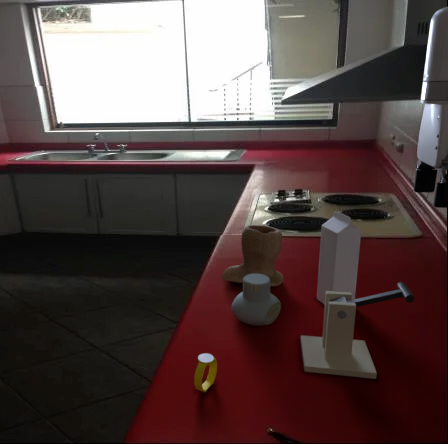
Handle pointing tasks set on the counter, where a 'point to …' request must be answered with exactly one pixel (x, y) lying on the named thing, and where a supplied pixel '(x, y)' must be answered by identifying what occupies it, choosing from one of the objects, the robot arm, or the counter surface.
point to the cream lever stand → (337, 343)
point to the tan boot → (257, 255)
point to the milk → (338, 256)
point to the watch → (203, 361)
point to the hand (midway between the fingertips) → (433, 199)
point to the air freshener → (256, 301)
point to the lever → (382, 296)
